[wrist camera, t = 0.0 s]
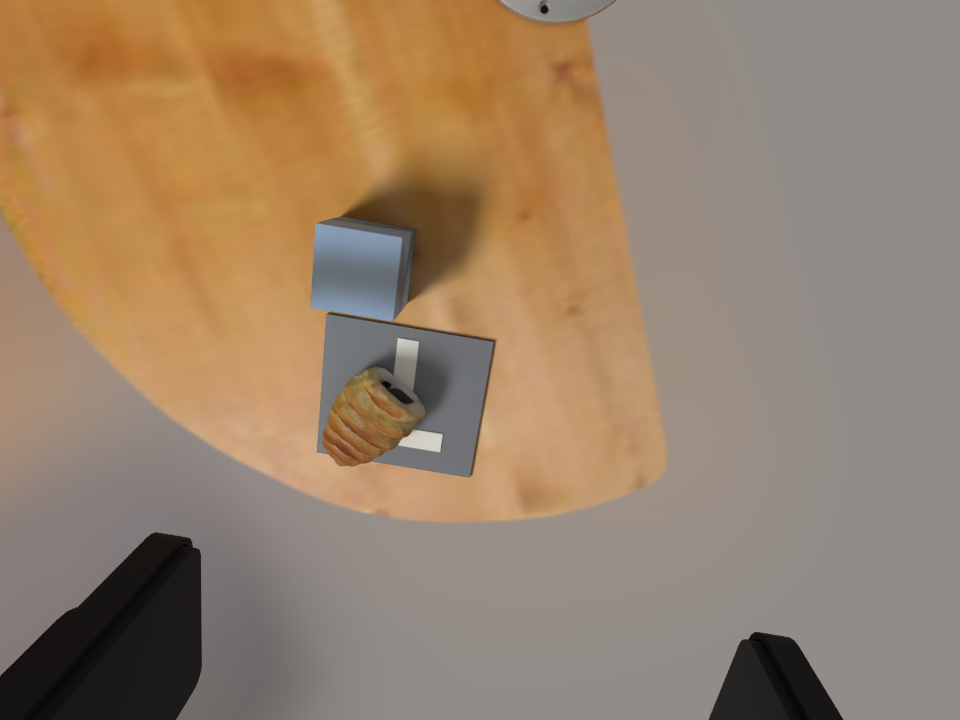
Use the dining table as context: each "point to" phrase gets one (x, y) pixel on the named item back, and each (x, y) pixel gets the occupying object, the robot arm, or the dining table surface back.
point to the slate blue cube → (362, 267)
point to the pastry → (370, 417)
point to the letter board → (414, 386)
